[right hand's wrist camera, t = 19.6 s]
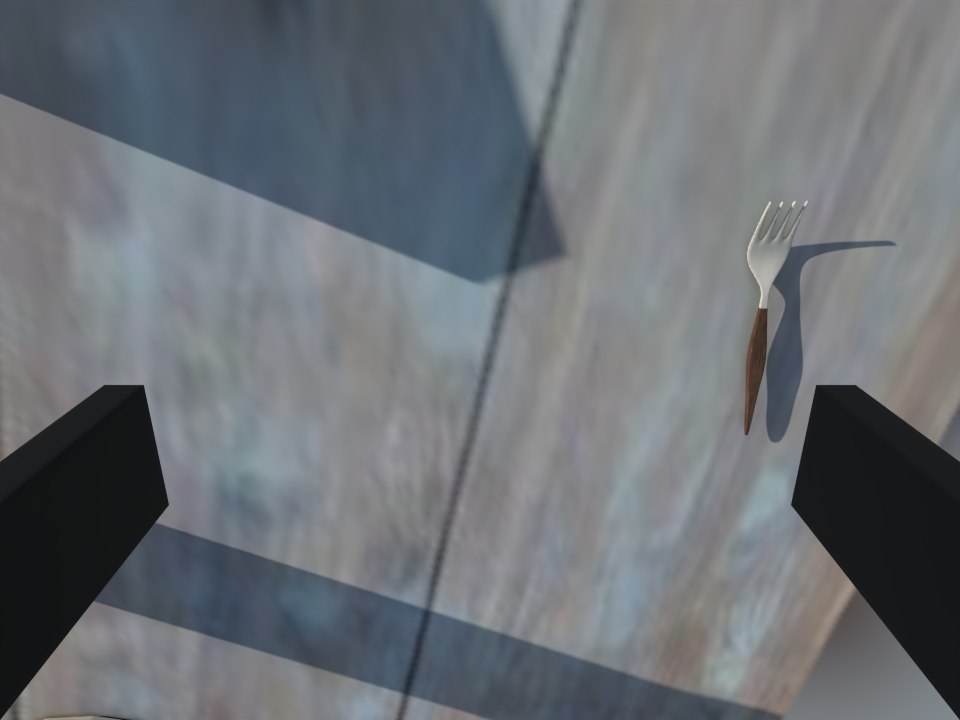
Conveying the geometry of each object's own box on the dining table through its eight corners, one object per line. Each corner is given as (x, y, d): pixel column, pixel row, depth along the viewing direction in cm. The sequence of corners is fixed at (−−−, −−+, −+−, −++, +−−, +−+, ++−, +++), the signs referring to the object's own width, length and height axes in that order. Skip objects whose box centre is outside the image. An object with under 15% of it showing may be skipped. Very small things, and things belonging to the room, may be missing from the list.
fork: (724, 431, 44) (734, 446, 43) (753, 197, 39) (766, 201, 37) (761, 430, 44) (774, 444, 43) (796, 196, 39) (812, 200, 37)
